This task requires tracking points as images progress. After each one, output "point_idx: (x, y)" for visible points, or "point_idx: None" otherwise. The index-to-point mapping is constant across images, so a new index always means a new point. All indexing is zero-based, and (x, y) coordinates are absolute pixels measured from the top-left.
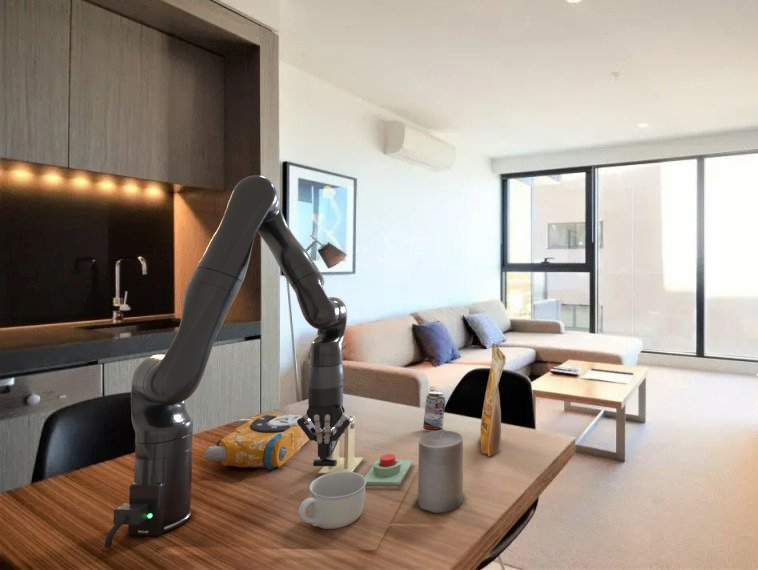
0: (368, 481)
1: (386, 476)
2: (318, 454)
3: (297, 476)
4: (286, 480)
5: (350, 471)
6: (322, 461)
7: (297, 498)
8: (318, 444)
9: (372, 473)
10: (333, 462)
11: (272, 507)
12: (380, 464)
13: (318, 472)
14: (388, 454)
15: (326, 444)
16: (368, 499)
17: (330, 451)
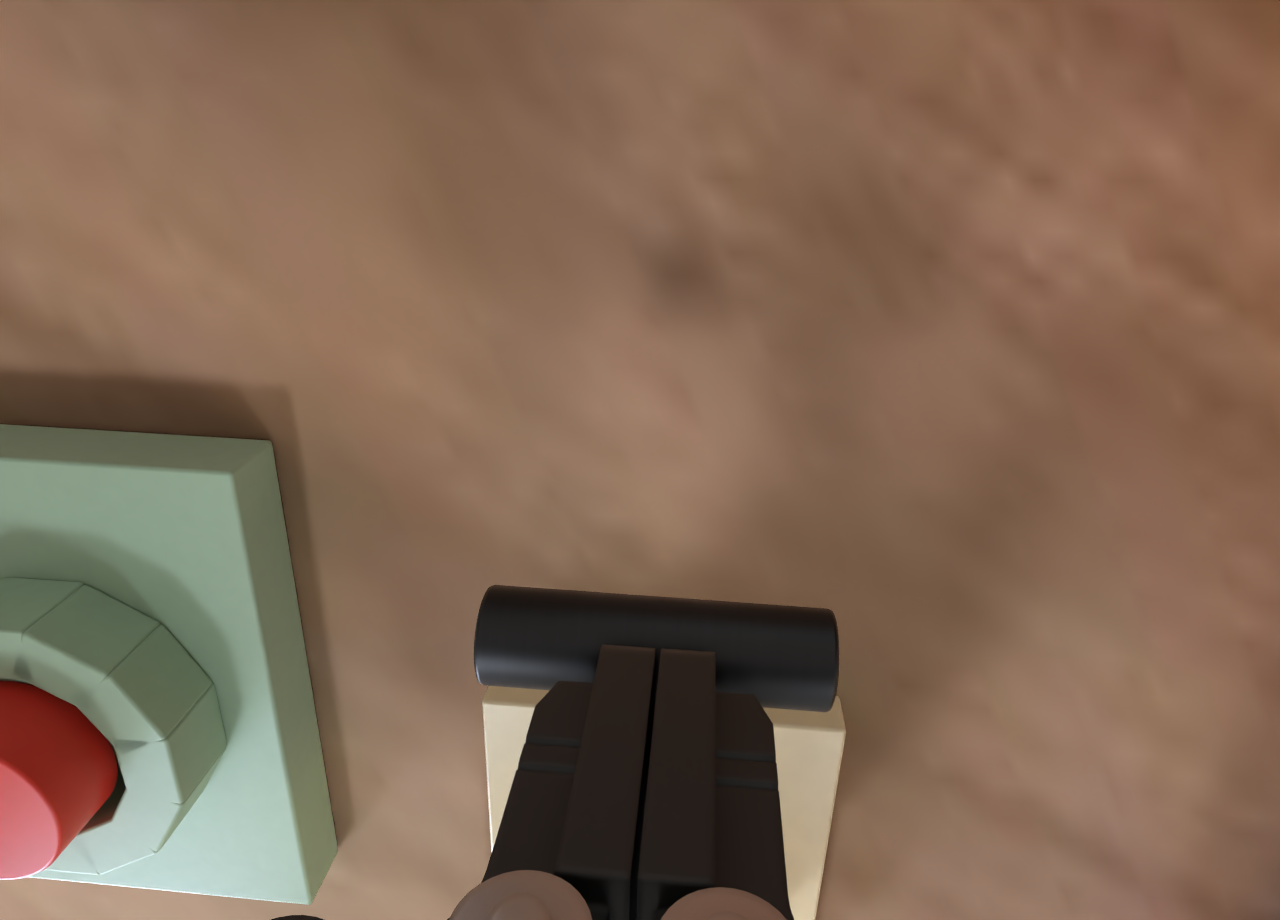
0: (139, 471)
1: (15, 577)
2: (756, 724)
3: (1071, 725)
4: (1171, 652)
5: (493, 728)
6: (682, 641)
7: (904, 245)
8: (771, 896)
9: (201, 646)
10: (494, 613)
11: (1163, 4)
12: (73, 725)
13: (840, 729)
14: (2, 871)
15: (556, 868)
16: (66, 213)
17: (523, 764)
